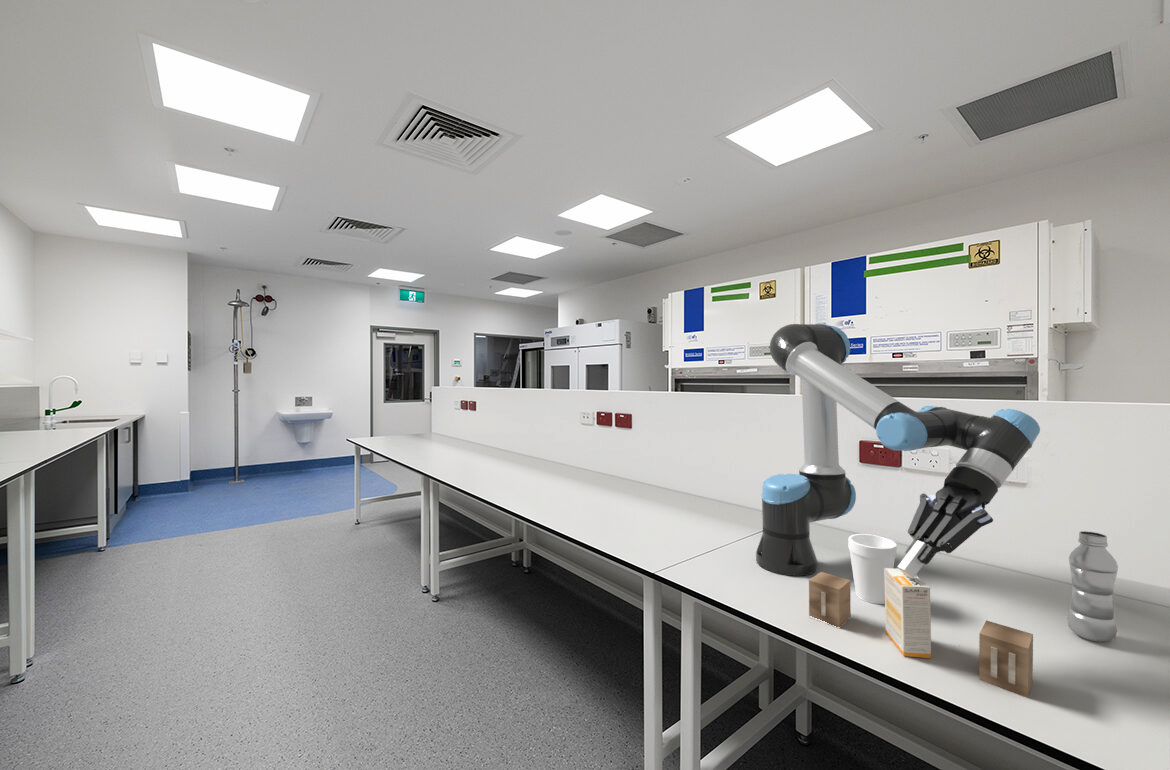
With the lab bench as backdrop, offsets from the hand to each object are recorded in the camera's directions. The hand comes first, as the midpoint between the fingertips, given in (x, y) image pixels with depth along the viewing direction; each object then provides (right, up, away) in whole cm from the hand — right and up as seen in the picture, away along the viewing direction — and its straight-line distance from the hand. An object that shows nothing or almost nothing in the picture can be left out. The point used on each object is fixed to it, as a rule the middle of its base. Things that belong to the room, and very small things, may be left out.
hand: (905, 572), depth 88 cm
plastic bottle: (+38, -14, +3) cm, 40 cm away
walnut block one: (-8, -14, +12) cm, 20 cm away
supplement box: (+1, -14, +2) cm, 15 cm away
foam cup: (+6, -14, +20) cm, 25 cm away
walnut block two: (+11, -15, -9) cm, 20 cm away
